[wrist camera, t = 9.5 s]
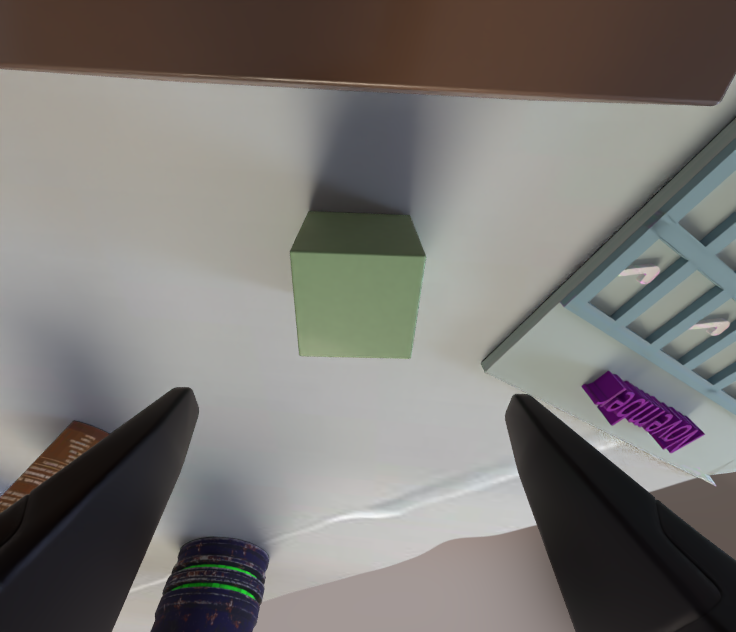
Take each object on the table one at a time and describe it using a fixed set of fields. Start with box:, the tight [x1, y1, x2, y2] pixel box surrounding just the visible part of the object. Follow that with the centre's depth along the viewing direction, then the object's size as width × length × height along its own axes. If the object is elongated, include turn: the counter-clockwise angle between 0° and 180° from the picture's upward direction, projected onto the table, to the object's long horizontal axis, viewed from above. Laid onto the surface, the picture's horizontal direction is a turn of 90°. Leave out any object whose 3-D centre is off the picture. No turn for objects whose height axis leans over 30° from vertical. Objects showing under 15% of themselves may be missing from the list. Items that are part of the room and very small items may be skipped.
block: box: [290, 211, 426, 359], centre depth 16 cm, size 5×5×5 cm
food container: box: [0, 421, 109, 513], centre depth 23 cm, size 12×6×10 cm, turn 154°
